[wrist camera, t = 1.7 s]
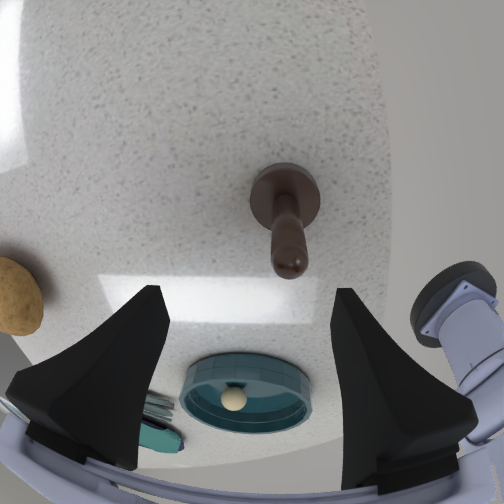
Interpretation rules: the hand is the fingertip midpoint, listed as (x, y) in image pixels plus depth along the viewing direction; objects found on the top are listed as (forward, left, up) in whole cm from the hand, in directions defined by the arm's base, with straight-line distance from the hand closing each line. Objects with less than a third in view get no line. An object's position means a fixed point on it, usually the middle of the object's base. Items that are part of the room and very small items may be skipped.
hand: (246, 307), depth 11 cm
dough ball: (-6, +22, -8) cm, 24 cm away
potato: (+24, +18, -10) cm, 31 cm away
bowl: (-7, +22, -10) cm, 25 cm away
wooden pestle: (-1, -2, -10) cm, 10 cm away
